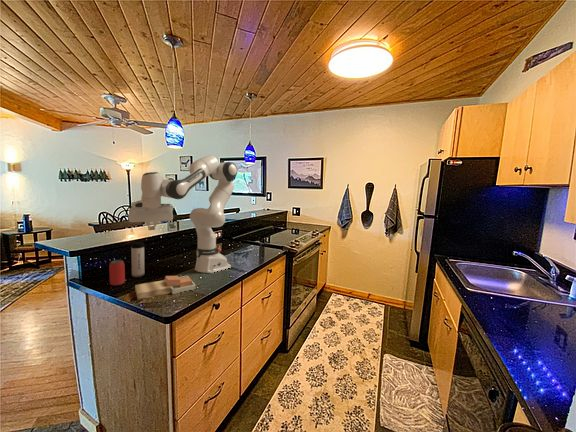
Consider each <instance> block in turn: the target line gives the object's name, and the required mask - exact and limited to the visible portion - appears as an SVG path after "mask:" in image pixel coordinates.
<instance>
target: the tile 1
mask: <svg viewBox="0 0 576 432" xmlns="http://www.w3.org/2000/svg"><path fill="white" fill-rule="evenodd" d="M179 277H180V276H178V275H165V277H164V280H165V283H166V285H167V286H174V285H180V280H181V279H180V278H179Z"/></svg>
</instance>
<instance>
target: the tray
mask: <svg viewBox="0 0 576 432" xmlns="http://www.w3.org/2000/svg"><path fill="white" fill-rule="evenodd" d="M178 277H179V278H186V277H189V275H184V276H178ZM170 287H171V293H170V294H172V295H178V294H181V293H180V292H182V293H185V292H184V291H187V292H190V291H189V290H192V291H195V290H194V289H197V286H196V284H195V282H194V281H193V280H192V285H191V286H186V287H181V288H179V286H178V285H174V286H170ZM177 293H178V294H177Z"/></svg>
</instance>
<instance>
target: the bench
mask: <svg viewBox="0 0 576 432" xmlns="http://www.w3.org/2000/svg"><path fill="white" fill-rule="evenodd" d="M134 292H135V295H136V299H137V301H138V300H139V301H140V300H143V299H144V300H145V299H148V298H155V297H158V296H163V295H168V294H172V293H171V287H170V286H167V285H166V283H165V279H163V280H158V281H151V282H144V283H140V284H135V285H134Z"/></svg>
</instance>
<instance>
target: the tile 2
mask: <svg viewBox="0 0 576 432" xmlns="http://www.w3.org/2000/svg"><path fill="white" fill-rule="evenodd" d="M180 279H181V280H180V285H178V286H179V288H181V287H186V286H191V285H192V281H193V280H192V279H191V277H189V276H188V277H186V278H180Z"/></svg>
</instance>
